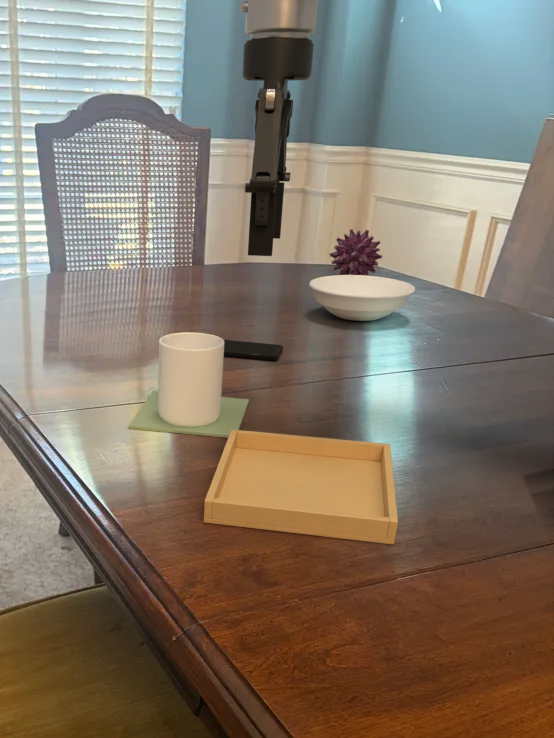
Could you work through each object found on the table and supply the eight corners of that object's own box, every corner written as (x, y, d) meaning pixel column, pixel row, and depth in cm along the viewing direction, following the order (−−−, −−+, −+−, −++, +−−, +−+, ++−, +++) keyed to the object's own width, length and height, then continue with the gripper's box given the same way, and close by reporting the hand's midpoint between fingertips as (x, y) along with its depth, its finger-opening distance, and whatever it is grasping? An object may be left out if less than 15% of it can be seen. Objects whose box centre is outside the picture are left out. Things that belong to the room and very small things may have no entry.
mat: (248, 401, 109) (249, 399, 109) (235, 438, 97) (236, 435, 97) (152, 393, 111) (152, 391, 111) (128, 428, 100) (128, 425, 99)
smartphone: (277, 356, 125) (188, 348, 129) (277, 361, 125) (187, 353, 129) (284, 344, 130) (198, 337, 134) (283, 349, 131) (198, 341, 135)
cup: (151, 424, 100) (152, 347, 95) (170, 394, 110) (171, 323, 105) (215, 430, 98) (219, 352, 93) (227, 399, 108) (232, 327, 103)
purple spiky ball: (354, 294, 177) (313, 275, 183) (383, 284, 183) (343, 266, 189) (369, 243, 169) (326, 225, 175) (399, 235, 176) (357, 218, 182)
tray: (386, 463, 91) (390, 443, 89) (393, 544, 74) (398, 522, 73) (230, 448, 94) (231, 429, 93) (203, 522, 78) (204, 500, 76)
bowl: (346, 336, 139) (351, 300, 136) (286, 311, 155) (289, 279, 152) (431, 325, 146) (438, 290, 143) (366, 303, 162) (370, 271, 159)
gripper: (255, 46, 94) (245, 231, 105) (230, 28, 73) (220, 262, 83) (317, 45, 93) (300, 232, 103) (310, 26, 72) (290, 265, 82)
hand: (264, 246), depth 93 cm, fingers open, 13 cm apart
